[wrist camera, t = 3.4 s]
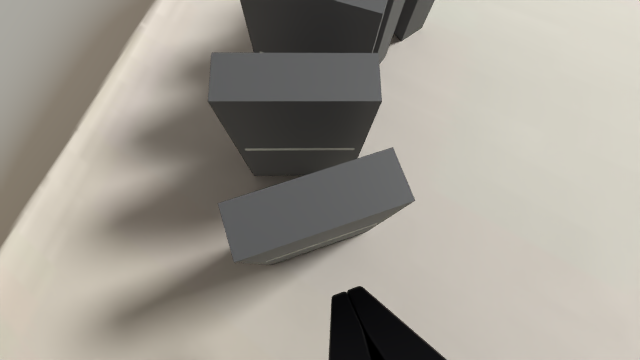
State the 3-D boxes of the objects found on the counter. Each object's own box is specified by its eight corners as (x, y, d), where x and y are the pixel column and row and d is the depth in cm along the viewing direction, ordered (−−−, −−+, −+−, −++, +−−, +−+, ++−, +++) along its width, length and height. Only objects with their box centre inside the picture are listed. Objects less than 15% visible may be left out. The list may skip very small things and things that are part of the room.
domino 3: (367, 232, 17) (415, 201, 9) (271, 265, 16) (234, 263, 8) (355, 201, 17) (392, 146, 9) (261, 232, 17) (217, 202, 9)
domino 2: (350, 175, 17) (381, 102, 10) (254, 176, 17) (207, 102, 10) (349, 145, 18) (378, 52, 10) (255, 146, 18) (212, 51, 10)
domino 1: (352, 122, 18) (382, 14, 10) (265, 96, 18) (232, -28, 11) (360, 96, 19) (395, -27, 11) (275, 71, 19) (250, -66, 11)
